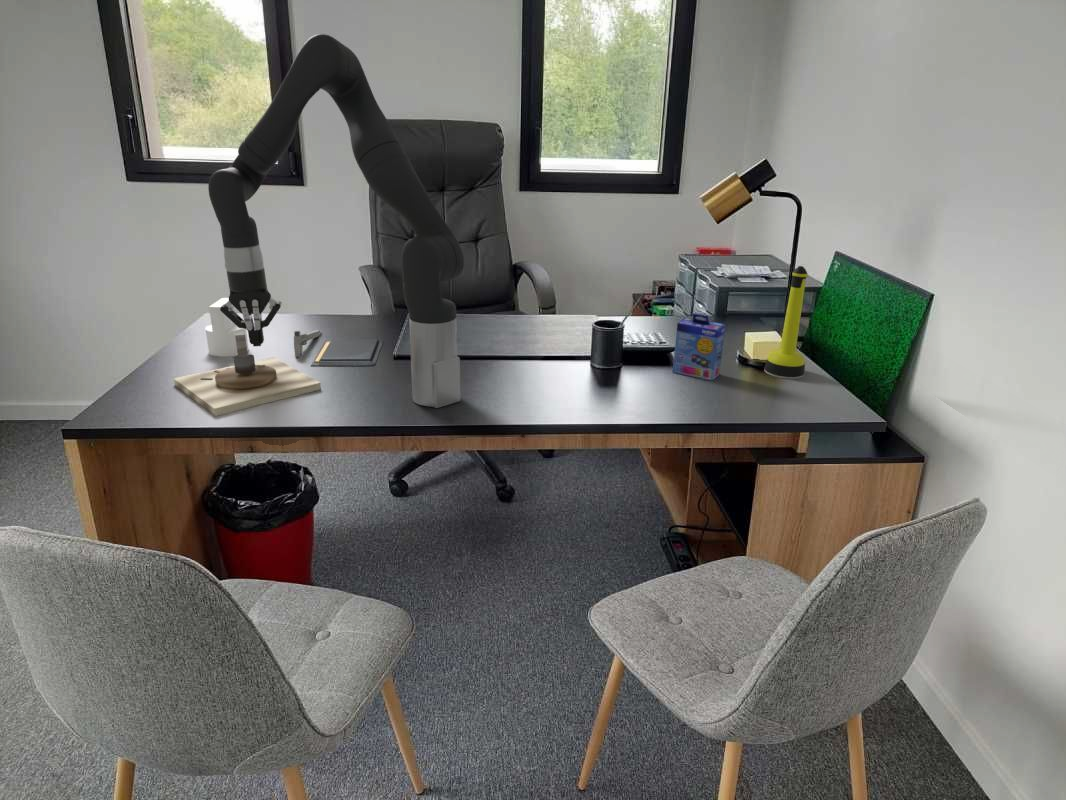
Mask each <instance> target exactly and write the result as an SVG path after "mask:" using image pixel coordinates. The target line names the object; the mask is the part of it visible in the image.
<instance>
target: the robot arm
mask: <svg viewBox="0 0 1066 800" xmlns="http://www.w3.org/2000/svg"><path fill="white" fill-rule="evenodd" d="M320 90H323V91H325V92H326V93H327V94H328V95H329V96H330V97H331V98H332V100H333V101H334V103H335V105H336V106H337V107H338V109H339V111H340V113H341V115H342V116H343V117H344V119H345V122H346V124H347V127H348V131H349V137H350V145H351V149H352V153H353V156H354V158H355V161H356V163H357V165H358V168H359V170H360V171H361V173H362V175H363V177H364V179H365V180H366V183H367V184H368V186H369V187H370V188H371V190H372V191H373V193H374V194H376V195H377V197H379V198H380V199H381V200H382V202H384V203H386V204H387V205H388V206H389V207H390V208H391V209H393V210H394V211H395V212H396V213H397V214H399V215H400V216H401V217H402V218H403V219H404V220H405V222H407V223H408V225H409V226H410V227H411V228H410V229H412V230H413V233H414V234H415V237H411V238H410V239H408V240H407V241H406V242H405V243H404V245H403V248H402V249H401V250H402V251H401V255H400V256H401V257H400V265H401V266H400V267H401V277H402V289H403V297H404V302H405V306H406V307H407V310H408V318H409V319H408V320H409V346H410V347H409V349H410V368H411V369H410V371H411V373H410V374H411V387H412V388H411V392H412V401H413V402H414V403H415V404H417V405H419V406H425V407H432V408H435V409H438V408H442V407H445V406H449V405H452V404H455V403H458V402H461V362H460V361H461V358H460V357H459V356H458V349H457V348H458V347H457V346H458V344H457V342H458V341H457V339H458V337H457V307H456V304H455V303H454V301H452V300H449V299H446V298H443V297H442V292H441V283H444V282H446V281H447V282H448V281H450V280H454V279H456V278H458V277H459V276H460V275H461V274H462V272H463V270H464V266H465V258H464V253H463V250H462V247H461V245H460V242H459V240H458V238H457V237H456V236H455V234H454V233H453V230H451V228H450V226H449V225H448V224H447V222H446V221H445V220H444V217H443V216H442V215H441V213H440V212H439V210H438V208H437V207H436V206H435V204H434V202H433V201H432V199H431V198H430V196H429V194H428V192H427V190H426V188H425V186H424V185H423V183H422V182H421V180H420V177H419V176H418V175H417V173H416V170H415V168H414V167H413V165H412V163H411V161H410V158H409V156H408V155H407V152H406V150H405V149H404V147H403V145H402V143H401V141H400V140H399V138H398V137H397V135H396V133H395V131H394V129H393V128H392V126H391V124H390V122H389V121H388V119H387V117H386V116H385V114H384V113H383V110H381V108H380V106H379V104H378V102H377V100H376V97H375V96H374V93H373V92H372V89H371V86H370V84H369V81H368V79H367V76H366V73H365V71H364V69H363V67H362V64H361V62H360V60H359V58H358V57H357V55H356V54H355V52H354V51H353V50H351V48H349V47H348V46H346V45H345V44H344V43H342V42H340V41H339V40H338V39H337V38H335V37H333V36H331V35H330V34H325V33H318V34H314V35H313V36H311V37H309V38H308V39H307V40H305V42H304V44H303V45H302V46H301V48H300V50H299V51H298V53H297V55H296V57H295V58H294V60H293V62H292V63H291V66H290V67H289V70H288V72H287V73H286V75H285V77H284V78H283V80H282V83H281V85H280V86H279V88H278V90H277V92H276V94H275V96H274V97H273V99H272V101H271V102H270V104H269V106H268V108H267V109H266V111H265V112H264V113H263V115H262V116H261V118H260V119H259V120H258V122H257V123H256V124H255V125H254V127H252V129H251V130H250V131H249V133H248V134H247V135H246V137H245V138H244V139H243V140H242V141H241V143H240V145H239V147H238V150H237V154H238V155H236V158H235V159H234V161H233V162H232V163H231V164H230V165H229V166H228V167H227V168H223V169H218V170H216V171H214V172H213V173H212V174H211V176H210V177H209V180H208V187H207V188H208V195H209V199H210V202H211V206H212V208H213V211H214V213H215V216H216V219H217V221H218V223H219V225H220V233H221V240H222V245H223V257H224V268H225V269H226V270H225V271H226V278H227V281H228V290H229V296H228V298H229V301H228V302H227V303H226V304H224V305H222V306H221V308H220V311H221V312H222V313H223V314H225V315H226V316H227V317H228V318H229V319H230V320H231V321H232V322H233V323H234V324H235V325H236V326H237V327H239V328H245V329H246V331H247V333H248V334H247V336H248V340H249V343H250V345H253V347H262V344H263V343H264V341H265V337H264V330H263V329H264V328H266V327H269V325H271V322H273V319H274V318H275V316H276V315H277V313H278V312H279V310H280V308H281V307H282V305H283V303H282V301H280V300H276V299H274V298H273V297H272V296H271V292H269V290H268V285H267V278H266V273H265V272H266V271H265V265H264V256H263V253H262V250H261V247H260V240H259V234H258V228H257V223H256V221H255V219H254V218H253V217H251V216H250V215H249V211H248V207H247V203H246V202H248V201H249V200H250V199H251V198H252V197H253V196H254V195H256V193H257V192H258V190H259V189H260V187H261V186H262V184H263V183H264V180H265V178H266V177H267V175H268V173H269V171H270V170H272V169H273V167H274V166H275V164H277V162H278V161H279V160H280V159H281V158H282V156H283V155H284V154H285V153H286V151H288V148H289V147H290V146H291V144H292V142H293V139H294V138H295V135H296V131H297V127H298V124H299V120H300V117H301V115H302V112H303V110H304V109H305V107H306V106H307V104H308V102H309V101H310V100H311V99H312V98H313V97H314V96H315V95H316V94H317V93H318V92H319V91H320ZM268 304H269V307H268V308H269V310H270V311H269V313H268V314H267V316H266V318H265V319H263V312H264V310H265V309H266V307H267V306H268ZM232 305H233V306H234V307H235V308H236V311H238V312H239V313H240V314H242V317H241V316H240V315H239V314H238V313H235V312H234V311H233V310H234V307H233V306H232Z"/></svg>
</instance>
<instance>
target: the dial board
mask: <svg viewBox="0 0 1066 800" xmlns="http://www.w3.org/2000/svg"><path fill="white" fill-rule="evenodd" d="M255 365H263V366H269V367H272V368H274V369H275V370H276V375H277V377H276V379H275V380H274V381H272V382H270V383H268V384H266V385H262V386H259V387H254V388H246V389H230V388H224V387H220V386H218V385H217V384H216V381H215V376H216V374H218V373H219V372H221V371H223V370H226V369H229V368H232V367H235V366H234V365H231V366H227V367H221V368H217V369H212V370H206V371H202V372H198V373H193V374H188V375H182V376H178V377H174V378H173V383H174V386H175V387H176V388H178V389H180V390H181V391H182V392H183V393H185V394H186V395H187V396H189V397H190V398H191V399H193V400H194V401H195V402H197V403H198V404H199V405H201V406H202V407H203V408H205V409H206V410H207V411H209V413H211V414H212V415H214V416H215V417H218V416H221V415H226V414H228V413H232V412H237V411H240V410H244V409H248V408H252V407H257V406H261V405H264V404H269V403H272V402H276V401H280V400H283V399H288V398H292V397H297V396H300V395H304V394H308V393H312V392H317V391H320V390H322V385H321V381H318V380H316V379H315V378H312V377H311V376H309V375H307V374H305V373H303V372H302V371H299V370H297V369H296V368H295V367H292V366H290V365H288V364H287V363H285V362H283V361H281V360H279V359H277V358H275V357H269V358H264V359H260V360H259V359H258V360H255Z"/></svg>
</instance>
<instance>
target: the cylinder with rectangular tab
mask: <svg viewBox="0 0 1066 800" xmlns="http://www.w3.org/2000/svg"><path fill="white" fill-rule="evenodd" d="M228 301H229V297H221V298H220V299H218V300H217V301H216V302H214V303H212V304H211V305H210V306H208V309H209V316H210V323H211V324H210V325H207V326H205V329H204V330H205V337H206V341H207V342H206V343H207V348H208V350H207V351H208V354H209V355H211V356H213V357H223V358H224V357H235V356H237V355H238V352H237V345H236V338H235V333H242V332H245V338H246V345H247V352H249V342H248V340H249V339H248V334H247V333H248V331H247V329H245V328H239V327H237V326H236V325H235V324H234V323H233V322H232V321H231V320H230V319H229V318H228V317H227V316H226V315H225V314H223V313H222V312H221V311H220V308H221V306H222V305H224V304H226V303H227V302H228ZM232 306H233V305H232ZM233 307H234V306H233ZM233 311H234V312H235V313H237V311H238V310H237V309H236V308H235V307H234V310H233ZM237 314H238V313H237Z"/></svg>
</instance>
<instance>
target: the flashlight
mask: <svg viewBox="0 0 1066 800" xmlns="http://www.w3.org/2000/svg"><path fill="white" fill-rule="evenodd" d="M791 275H792V278H791V279H792V280H791V285H790V290H789V296H788V301H787V307H786V313H785V317H784V324H783V329H782V333H781V334H782V335H781V339H780V340H781V341H780V346H779V349H774V350H773V349H772V351H771V352H769V355H768V356H767V358H766V361H765V365H764V368H763V369H764V370H763V371H764V372H765V373H766V374H767V375H770V376H772V377H775V378H779V379H790V380H796V379H801V378H803V377H804V376H805V370H806V369H805V367H806V361H805V358H804V355H803V354H802V353H801V352H798V351H796V350H797V344H798V339H799V338H798V336H799V329H800V323H801V316H802V315H801V314H802V310H803V309H802V307H803V301H804V296H805V289H806V281H807V277H808V272H807V269H806V268H805V267H804V266H802V265H798V266H797V267H796V268H795V269H794V270H793V271H792V274H791Z"/></svg>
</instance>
